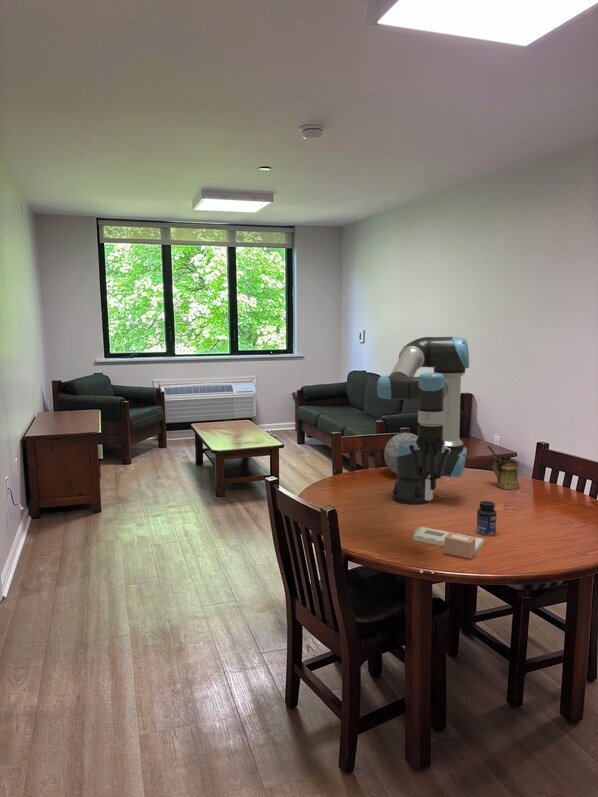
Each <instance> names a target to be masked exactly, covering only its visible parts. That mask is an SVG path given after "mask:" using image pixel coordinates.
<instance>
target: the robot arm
mask: <svg viewBox="0 0 598 797" xmlns="http://www.w3.org/2000/svg"><path fill="white" fill-rule="evenodd" d="M420 368H433V372H424V373H423V372H422V373H420V374H419V376H415V375H416V373H417V371H418V370H419V369H420ZM468 368H470V353H469V346H468V342H467V339H466V338H464V337H463V336H462V337H460V336H424V337H423V336H422V337H419V338H417V339H413V340H411V341H410V342H409V343H407V344H406V345H405V346H403V347H402V348H401V350H400V352H399V354H398V360H397V361H396V364H395V366H394V367H393V369H392V371H391V373H390V374H389V375H381V376H379V377H378V379H377V383H376V384H377V385H376V392H377V396H378V398H379V399H385V400H387V399H388V400H403V401H405V400H406V401H407V400H413V401H417V402H418V407H417V408H418V409H417V422H418V425H417V436H418V438H417V440H414V441H407V442H403V443H401V444H399V445H398V448H397V474H396V480H395V483H394V486H393V489H392V492H391V495H392V496H391V497H392V500H394V501H395V502H397V503H401V504H407V505H421V504H427V503H428V502H430V501H431V500H433V499H434V498H433V497H434V496H433V495H434V490H436V488H437V480H439V479H441V478H442V477H447V478H448V477H449V478H452V477H454V478H460V477H462V476H463V474H464V469H465V464H466V459H467V458H466V457H467V454H468V453H467V451H468V448H467V447H465V446H464V442H463V440H461V438H460V426H461V424H460V422H461V385H462V384H461V383H462V377H463V376H464V374H466V369H468Z"/></svg>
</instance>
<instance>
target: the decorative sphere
mask: <svg viewBox="0 0 598 797" xmlns="http://www.w3.org/2000/svg"><path fill="white" fill-rule="evenodd" d="M417 438H418V435H416V434H414V433H411V432H401V433H398V434H396V435H393V436H392V437H391V438H390V439H389V440H388V441H387V443H386V445H385V448H384V453H383V456H384V461H385V464H386V466H387V468H388V469H389V470H390V471H391V472H392V473H394V474H396V475H397V448H398V445H399V444H401V443H403V442H407V441H414V440H417Z"/></svg>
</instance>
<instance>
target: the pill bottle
mask: <svg viewBox="0 0 598 797" xmlns="http://www.w3.org/2000/svg"><path fill="white" fill-rule="evenodd" d="M479 507H480V508H478V509H477V512H476V513H477V514H476V533H477V534H479V535H481V536H488V537H489V536H490V537H493V536H496V534H497V511H496V510H495V502H493V501H489V500H480V501H479Z"/></svg>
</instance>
